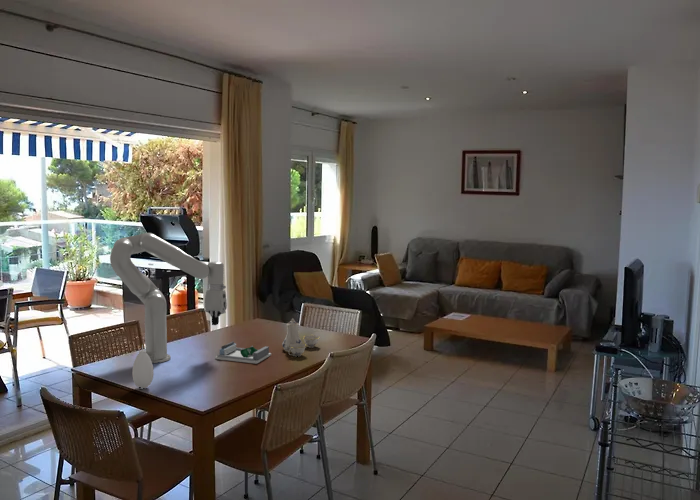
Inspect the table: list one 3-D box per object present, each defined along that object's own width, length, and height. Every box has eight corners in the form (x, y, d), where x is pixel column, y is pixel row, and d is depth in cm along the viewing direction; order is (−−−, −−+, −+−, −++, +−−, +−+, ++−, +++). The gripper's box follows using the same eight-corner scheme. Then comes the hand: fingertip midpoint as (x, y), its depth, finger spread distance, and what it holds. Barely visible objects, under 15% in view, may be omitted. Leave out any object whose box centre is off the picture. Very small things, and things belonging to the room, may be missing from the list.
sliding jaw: (224, 356, 266) (224, 347, 266) (219, 355, 267) (219, 346, 266) (236, 349, 277) (236, 341, 277) (232, 349, 278) (232, 340, 278)
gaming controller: (258, 358, 271) (252, 348, 273) (261, 353, 269) (255, 343, 271) (243, 362, 264) (237, 351, 266) (246, 357, 262) (240, 347, 264)
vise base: (256, 363, 259) (256, 354, 259) (215, 358, 266) (215, 349, 265) (271, 355, 273) (271, 346, 273) (231, 350, 280) (231, 342, 280)
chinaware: (304, 362, 267) (308, 329, 265) (271, 356, 271) (275, 323, 269) (320, 347, 295) (323, 316, 293) (290, 342, 298) (293, 311, 296)
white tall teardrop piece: (129, 388, 224) (128, 344, 222) (147, 383, 230) (146, 340, 228) (138, 393, 219) (137, 347, 217) (157, 388, 224) (156, 344, 223)
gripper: (233, 287, 272) (232, 324, 274) (206, 285, 277) (206, 321, 279) (224, 289, 265) (224, 327, 267) (197, 287, 270) (197, 324, 271)
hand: (215, 324), depth 273 cm, fingers closed
